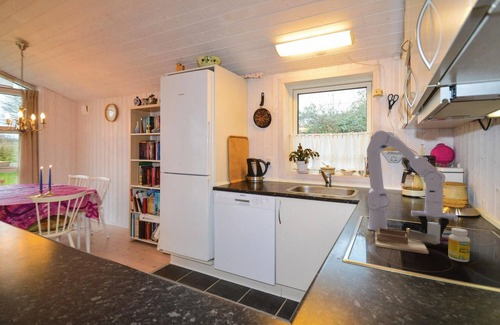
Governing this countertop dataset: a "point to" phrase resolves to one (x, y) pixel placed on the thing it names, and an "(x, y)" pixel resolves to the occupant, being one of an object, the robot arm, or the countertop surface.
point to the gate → (421, 236)
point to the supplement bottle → (459, 245)
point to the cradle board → (398, 241)
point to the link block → (434, 230)
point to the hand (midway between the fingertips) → (432, 236)
